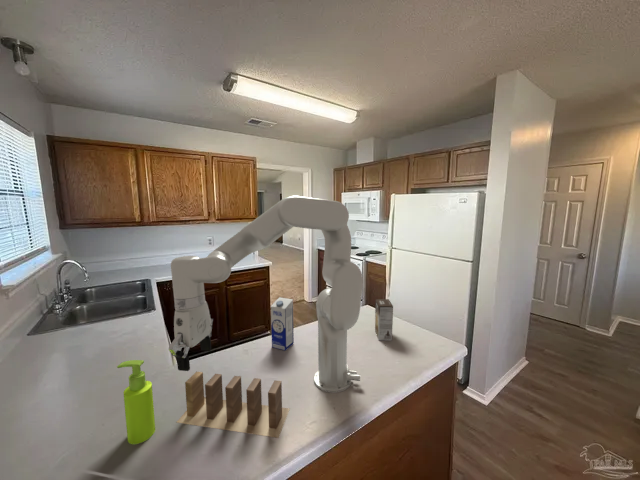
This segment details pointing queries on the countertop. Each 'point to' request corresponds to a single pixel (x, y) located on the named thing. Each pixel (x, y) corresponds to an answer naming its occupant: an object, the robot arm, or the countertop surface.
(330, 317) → the robot arm
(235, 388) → the domino
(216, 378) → the domino
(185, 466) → the countertop surface
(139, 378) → the soap dispenser
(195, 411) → the domino
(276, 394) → the domino
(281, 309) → the milk carton
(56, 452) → the countertop surface
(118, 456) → the countertop surface
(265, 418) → the runner
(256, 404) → the domino
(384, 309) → the coffee box
